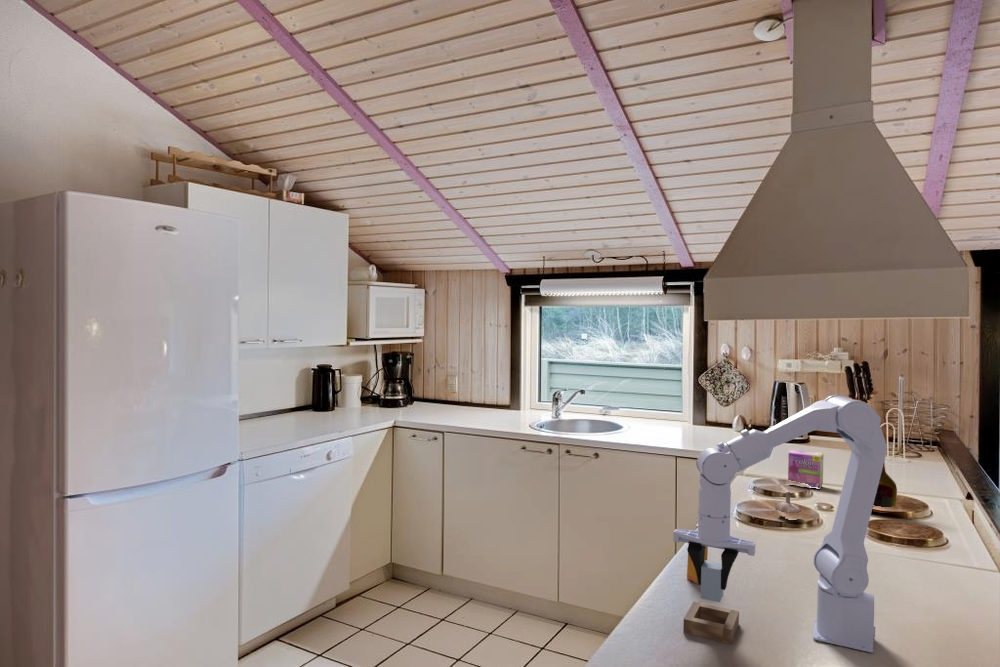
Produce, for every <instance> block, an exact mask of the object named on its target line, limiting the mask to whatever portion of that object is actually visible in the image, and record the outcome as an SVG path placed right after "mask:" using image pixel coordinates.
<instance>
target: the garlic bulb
mask: <svg viewBox="0 0 1000 667" xmlns="http://www.w3.org/2000/svg"><path fill="white" fill-rule="evenodd" d="M775 509H776V510H779V511H781V512H786V513H799V512H801V511H802V509H801V508H799V506H797V505H795V504H793V503H791V491H787V492H786V495H785V501H781V502H779V503H777V504H776V505H775V507H774V510H775Z"/></svg>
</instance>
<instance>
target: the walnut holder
mask: <svg viewBox="0 0 1000 667" xmlns="http://www.w3.org/2000/svg"><path fill="white" fill-rule="evenodd" d="M739 623H740V611H739V610H734V609H730V608H726V607H721V606H716V605H711V604H708V603H707V604H706V603H703V602H697V601H692V603H691V605H690V607H689V608H688V611H687V612H686V614H685V616H684V618H683V629H682V631H683V633H685V634H689V635H693V636H698V637H701V638H706V639H710V640H714V641H718V642H722V643H726V644H732V643H733V640H734V638H735V636H736V632H737V630H738V627H739Z"/></svg>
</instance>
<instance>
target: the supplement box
mask: <svg viewBox="0 0 1000 667" xmlns="http://www.w3.org/2000/svg"><path fill="white" fill-rule="evenodd" d="M708 551H709V548H708V546H705V555H704V561H705V560H706V561H708ZM686 566H687V568H686V578H687V579H688V580H690V581H691V582H693V583H695V584H698V579H697V574H696V571H695V567H694V565H693V562H692V560H691V558H690V556H689V554H688V553H687V565H686Z"/></svg>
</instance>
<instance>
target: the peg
mask: <svg viewBox="0 0 1000 667" xmlns="http://www.w3.org/2000/svg"><path fill="white" fill-rule="evenodd" d="M721 578H722V562H717V561H716V562H715V561H711V560H707V561H706V560H705V561H704V563H703V565H702V566H701V585H700V599H701V600H702V599H703V600H707V601H711V602H717V603H721V601H722V599H723V597H724V593H725V592H724V591H725V590H722V589H721Z"/></svg>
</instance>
